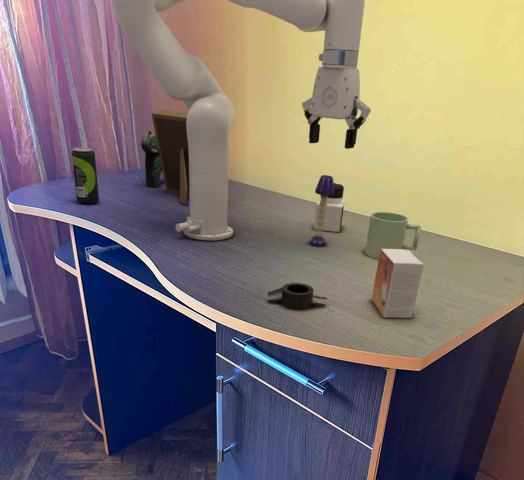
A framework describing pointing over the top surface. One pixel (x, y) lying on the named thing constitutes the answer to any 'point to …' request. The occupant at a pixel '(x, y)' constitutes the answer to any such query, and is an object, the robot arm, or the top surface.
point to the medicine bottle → (332, 210)
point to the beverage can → (85, 175)
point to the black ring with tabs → (295, 295)
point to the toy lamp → (322, 207)
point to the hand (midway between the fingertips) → (331, 145)
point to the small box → (396, 283)
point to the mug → (389, 233)
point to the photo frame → (173, 150)
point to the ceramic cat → (151, 159)
